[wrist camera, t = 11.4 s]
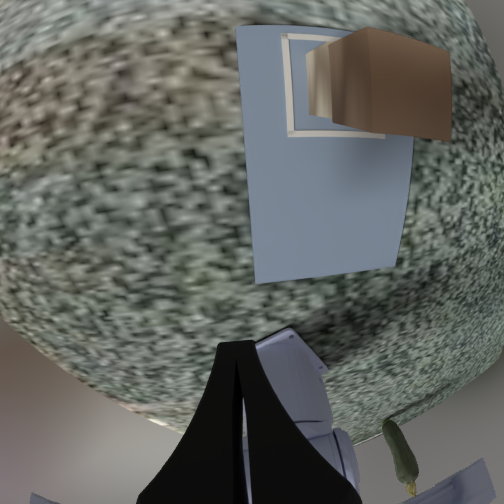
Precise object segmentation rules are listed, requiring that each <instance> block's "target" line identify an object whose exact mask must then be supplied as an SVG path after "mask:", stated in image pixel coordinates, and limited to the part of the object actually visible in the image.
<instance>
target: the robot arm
mask: <svg viewBox="0 0 504 504" xmlns="http://www.w3.org/2000/svg"><path fill="white" fill-rule="evenodd" d="M290 335H291V336H290ZM327 371H328V367H327V366H326V365H325V364H324V363H323V362H322V360H321V359H320V358H319V357H318V356H317V355H316V354H315V353H314V352H313V351H312V349H311V348H310V347H309V346H308V345H307V344H306V343H305V342H304V341H303V340H302V338H301V337H300V336H299V335H298V334H297V333H296V332H295V331H294V330H293V329H292V328H286V329H284V330H282V331H280V332H278V333H276V334H274V335H272V336H270V337H268V338H266V339H264V340H262V341H260V342H258V343H256V344H255V341H253V340H243V341H232V342H220V343H219V344H218V345H217V351H216V356H215V360H214V364H213V367H212V371H211V374H210V377H209V380H208V382H207V385H206V388H205V391H204V393H203V396H202V398H201V401H200V403H199V405H198V408H197V410H196V412H195V414H194V416H193V418H192V420H191V422H190V424H189V426H188V428H187V430H186V432H185V434H184V435H183V437H182V439H181V440H180V442H179V444H178V445H177V447H176V449H175V450H174V452H173V453H172V455H171V456H170V458H169V459H168V460H167V462H166V463H165V464H164V466H163V467H162V469H161V470H160V471H159V472H158V474H157V475H156V476H155V478H154V479H153V480H152V481H151V482H150V483H149V485H147V487H146V488H145V489H144V490H143V491H142V492H141V493H140V494H139V496H138V499H137V502H136V504H362V500H361V498H360V492H359V482H360V478H359V477H360V476H359V469H358V463H357V459H356V455H355V452H354V448H353V445H352V442H351V439H350V437H349V435H348V433H347V432H346V431H344V430H341V428H335V429H333V432H332V428H331V426H332V422H333V415H332V411H331V407H330V404H329V400H328V397H327V393H326V390H325V386H324V383H323V379H322V376H321V375H322V374H324V373H326V372H327ZM243 412H244V425H245V437H243V438H242V436H243ZM495 498H496V494H495V490H494V487H493V484H492V481H491V478H490V475H489V472H488V469H487V467H486V464H485V461H484V459H483V458H481V459H479V460H477V461H476V462H474V463H473V464H471V465H470V466H468V467H466V468H465V469H463V470H460V471H458V472H456V473H455V474H453V475H451V476H449V477H448V478H446V479H444V480H443V481H441V482H439V483H437V484H436V485H435V486H434V487H432V488H430V489H429V490H427V491H425V492H423V493H421V494H419V495H417V496H415V497H412V498H410V499H408V500H406V501H404V502H402V503H399V504H489V503H491V502H492V501H493V500H494V499H495ZM30 504H59V503H57V502H53V501H51V500H48V499H46V498H44V497H41V496H39V495H37V494H35V493H31V497H30Z"/></svg>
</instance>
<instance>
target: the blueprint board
mask: <svg viewBox="0 0 504 504" xmlns="http://www.w3.org/2000/svg"><path fill="white" fill-rule="evenodd" d="M235 29H236V42H237V54H238V67H239V79H240V92H241V105H242V117H243V130H244V143H245V155H246V168H247V181H248V194H249V206H250V219H251V232H252V245H253V258H254V271H255V281H256V284H258V283H267V282H276V281H285V280H294V279H303V278H311V277H319V276H327V275H335V274H343V273H350V272H358V271H365V270H372V269H379V268H386V267H393V266H395V264H396V259H397V255H398V250H399V245H400V241H401V236H402V230H403V225H404V219H405V213H406V207H407V200H408V193H409V185H410V177H411V167H412V155H413V141H414V137H411V136H402V135H391V134H378V133H370V132H366V131H363V130H359V129H355V128H352V127H348V126H344V125H340V124H335V123H332V119H330V118H325V117H319V116H313V115H309V100H308V81H307V65H306V54H307V53H308V52H310V51H312V50H314V49H315V48H317V47H319V46H320V45H322V44H324V43H326V42H328V41H329V42H335V41H337V40H339V39H341V38H343V37H345V36H347V35H350V34H352V33H354V32H350V31H344V30H336V29H329V28H319V27H308V26H291V25H248V26H236V28H235Z"/></svg>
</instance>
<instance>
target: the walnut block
mask: <svg viewBox="0 0 504 504" xmlns="http://www.w3.org/2000/svg"><path fill="white" fill-rule="evenodd" d="M328 49H329V61H330V76H331V95H332V123H335V124H340V125H344V126H348V127H352V128H355V129H359V130H363V131H366V132H370V133H378V134H391V135H402V136H411V137H419V138H427V139H434V140H441V141H447V142H451V124H452V83H451V66H450V55H449V52H448V51H446V50H443V49H440V48H438V47H435V46H433V45H430V44H427V43H424V42H421V41H418V40H415V39H412V38H409V37H405V36H402V35H398V34H395V33H391V32H387V31H383V30H379V29H374V28H370V27H365V28H363V29H360V30H358V31H356V32H354V33H352V34H350V35H347V36H345V37H343V38H341V39H339V40H337V41H335V42H333V43H331V44H329V45H328Z"/></svg>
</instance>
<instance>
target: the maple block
mask: <svg viewBox="0 0 504 504" xmlns="http://www.w3.org/2000/svg"><path fill="white" fill-rule="evenodd" d="M331 43H333V42H329V41H328V42H326V43H324V44H322V45H320V46H319V47H317V48H315V49H314V50H312V51H310V52H308V53H307V54H306V65H307V81H308V100H309V115H313V116H319V117H325V118H330V119H332V95H331V76H330V61H329V49H328V45H329V44H331Z"/></svg>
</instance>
